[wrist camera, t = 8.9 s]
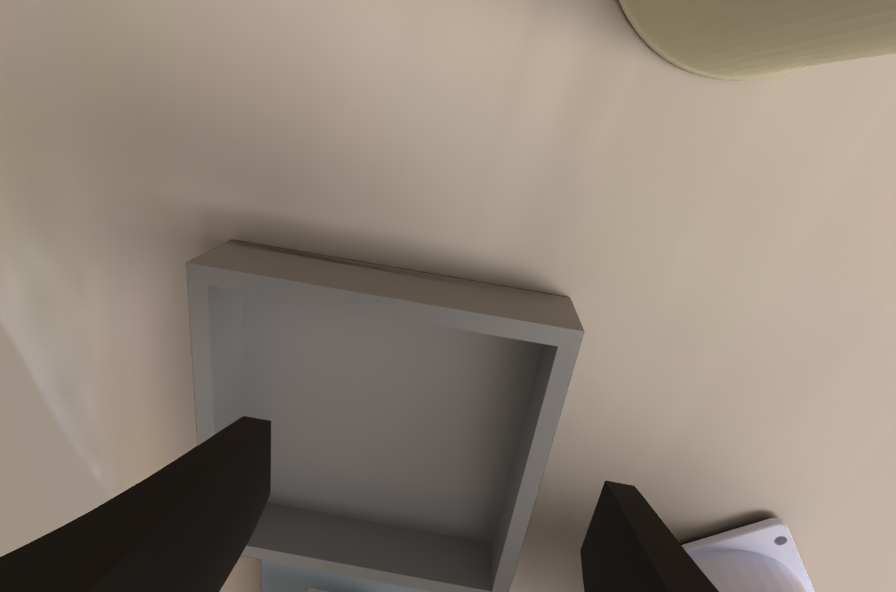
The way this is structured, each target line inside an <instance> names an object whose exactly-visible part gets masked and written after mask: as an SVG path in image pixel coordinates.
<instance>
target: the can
mask: <svg viewBox="0 0 896 592" xmlns="http://www.w3.org/2000/svg"><path fill="white" fill-rule="evenodd" d="M619 2H620V5H621V7H622V9H623V11H624V13H625V15H626V17H627V18H628V20H629V21H630V23H631V25H632V26H633V28H634V29H635V30H636V32H637V33H638V34H639V36H640V37H641V38H642V39H643V40H644V41H645V42H646V43H647V44H648V45H649V46H650V47H651V48H652V49H653V50H654V51H655V52H656V53H658V54H659V55H660V56H661V57H663V58H664V59H666V60H667V61H669V62H670V63H672V64H674V65H675V66H677V67H680V68H682V69H684V70H686V71H688V72H691V73H694V74H697V75H701V76H704V77H708V78H714V79H720V80H753V79H762V78H767V77H772V76H776V75H780V74H783V73H786V72H790V71H793V70H796V69H799V68H801V67H806V66H811V65H818V64H824V63H831V62H838V61H845V60H851V59H858V58H865V57H873V56H880V55H887V54H894V53H896V0H619Z"/></svg>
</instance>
